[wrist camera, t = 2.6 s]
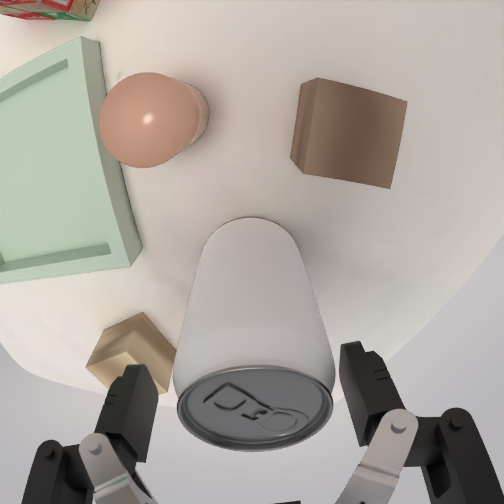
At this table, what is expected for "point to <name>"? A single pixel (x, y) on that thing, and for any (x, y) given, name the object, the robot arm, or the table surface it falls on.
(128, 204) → the tray
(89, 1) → the stack of blocks
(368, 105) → the walnut block
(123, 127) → the peach smooth rounded cylinder
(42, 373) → the table surface
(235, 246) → the can
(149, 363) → the oak block
